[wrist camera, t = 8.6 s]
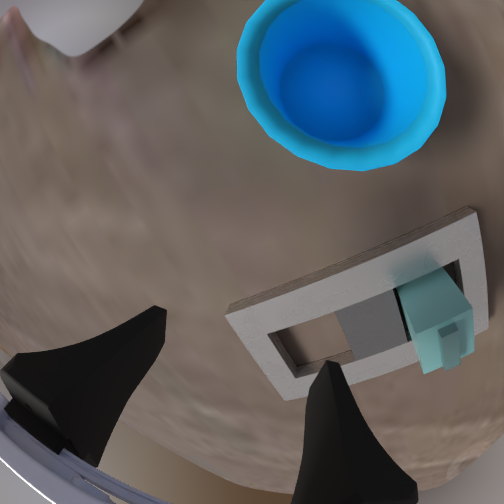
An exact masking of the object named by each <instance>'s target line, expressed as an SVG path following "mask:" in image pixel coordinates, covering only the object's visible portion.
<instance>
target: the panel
mask: <svg viewBox="0 0 504 504" xmlns="http://www.w3.org/2000/svg"><path fill="white" fill-rule="evenodd" d="M451 262H453V263H454V269H455V275H456V281H457V287H458V288H459V289H460V291H461V292H462V293H463V295H464V296H465V297H466V299H467V300H468V302H469V303H470V304H471V306H472V307H473V318H474V336H475V335H477V334H479V333H480V332H482V331H484V330H486V329H488V294H487V281H486V270H485V261H484V253H483V246H482V240H481V234H480V228H479V223H478V218H477V213H476V211H474V210H472V209H471V208H469V207H468V206H466V207H464V208H462V209H460V210H458V211H455V212H453V213H451V214H449V215H447V216H445V217H443V218H440V219H438V220H436V221H434V222H432V223H430V224H427V225H425V226H423V227H421V228H419V229H416V230H414V231H412V232H410V233H407V234H405V235H403V236H401V237H398V238H396V239H394V240H392V241H389V242H387V243H385V244H382V245H380V246H378V247H375V248H373V249H371V250H368V251H366V252H364V253H361V254H359V255H356V256H354V257H352V258H349V259H347V260H344V261H342V262H339V263H337V264H335V265H332V266H330V267H327V268H325V269H322V270H320V271H317V272H315V273H312V274H310V275H307V276H305V277H302V278H300V279H297V280H294V281H292V282H289V283H287V284H284V285H281V286H279V287H276V288H274V289H271V290H268V291H266V292H263V293H260V294H258V295H255V296H252V297H250V298H247V299H244V300H241V301H239V302H236V303H233V304H230V305H229V307H228V309H227V311H226V313H225V315H224V316H225V317H226V319H227V320H228V322H229V323H230V325H231V326H232V328H233V329H234V331H235V332H236V333H237V335H238V336H239V338H240V339H241V341H242V342H243V344H244V345H245V346H246V348H247V349H248V351H249V352H250V354H251V355H252V356H253V358H254V359H255V361H256V362H257V363H258V365H259V366H260V368H261V369H262V370H263V372H264V373H265V375H266V376H267V377H268V379H269V380H270V381H271V383H272V384H273V386H274V387H275V388H276V390H277V391H278V392H279V394H280V395H281V396H282V398H283V399H284V400H285V401H288V400H292V399H297V398H301V397H306V396H308V393H309V388H310V386H311V384H312V383H313V381H314V380H315V378H316V376H317V375H318V373H319V371H320V370H321V368H322V366H323V364H324V363H325V361H326V360H330V361H334V362H338V363H339V364H340V366H341V368H342V371H343V373H344V376H345V378H346V381H347V383H348V385H351V384H355V383H358V382H361V381H365V380H368V379H371V378H374V377H377V376H380V375H383V374H386V373H388V372H391V371H394V370H397V369H400V368H402V367H405V366H407V365H410V364H413V363H415V362H418V361H419V358H418V355H417V352H416V350H415V347H414V344H413V341H412V338H411V336H410V333H409V330H408V329H407V330H404V326H403V322H402V319H401V315H400V312H399V308H398V305H397V301H396V298H395V295H394V292H393V288H395V287H398V286H400V285H402V284H405V283H407V282H409V281H412V280H414V279H416V278H419V277H421V276H423V275H425V274H427V273H430V272H432V271H434V270H436V269H438V268H440V267H443V266H445V265H447V264H449V263H451ZM331 312H335V314H336V316H337V319H338V321H339V323H340V325H341V327H342V330H343V332H344V334H345V336H346V339H347V341H348V343H349V345H350V348H351V351H348V352H344V353H341V354H338V355H335V356H332V357H329V358H325V359H322V360H319V361H315V362H312V363H308V364H305V365H301V366H296V365H295V363H294V361H293V360H292V358H291V357H290V355H289V353H288V352H287V350H286V349H285V347H284V345H283V344H282V342H281V340H280V339H279V337H278V336H277V334H276V332H275V331H278V330H281V329H284V328H287V327H290V326H294V325H297V324H300V323H303V322H306V321H308V320H311V319H314V318H317V317H320V316H323V315H326V314H328V313H331Z"/></svg>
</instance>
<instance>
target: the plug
mask: <svg viewBox="0 0 504 504" xmlns="http://www.w3.org/2000/svg"><path fill="white" fill-rule="evenodd" d="M396 290H397V293H398V297H399V300H400V304H401V307H402V311H403V314H404V318H405V322H406V325H407V327H408V330H409V333H410V336H411V338H412V341H413V344H414V347H415V350H416V352H417V355H418V358H419V361H420V364H421V367H422V371H423V374H426V373H428V372H431V371H433V370H435V369H438V368H440V367H442V366H443V368H444V370H445V371H447V370H449V369H451V368H453V367H455V366H458V365H460V364H461V358H462V357H464V356H466V355H468V354H470V353H472V352H474V318H473V307H472V306H471V304H470V303H469V302H468V300H467V299H466V297H465V296H464V295H463V293H462V292H461V291H460V289H459V288H458V287H457V285H456V284H455V283H454V281H453V280H452V279H451V277H450V276H449V275H448V274H447V272H446V271H445V270H444V268H443V267H440V268H438V269H436V270H434V271H432V272H430V273H427V274H425V275H423V276H421V277H419V278H416V279H414V280H412V281H409V282H407V283H405V284H402V285H400V286H398V287H396Z"/></svg>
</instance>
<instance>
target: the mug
mask: <svg viewBox="0 0 504 504" xmlns="http://www.w3.org/2000/svg"><path fill="white" fill-rule="evenodd" d="M237 80H238V83H239V85H240V88H241V91H242V93H243V96H244V99H245V101H246V104H247V107H248V110H249V111H250V112H251V113H252V115H253V116H254V117H255V118H256V120H257V121H258V122H259V123H260V125H261V126H262V127H263V129H264V130H265V131H266V133H267V134H268V135H269V136H270V137H271V138H273V139H274V140H276V141H277V142H278V143H280V144H281V145H282V146H284V147H285V148H287V149H288V150H289V151H291V152H292V153H293V154H295V155H296V156H298V157H300V158H303V159H306V160H309V161H311V162H314V163H317V164H319V165H322V166H325V167H327V168H330V169H344V170H356V171H367V170H371V169H375V168H379V167H384V166H388V165H393V164H396V163H397V162H399V161H401V160H402V159H404V158H405V157H407V156H409V155H410V154H412V153H413V152H415V151H417V150H418V149H420V148H421V147H422V145H423V144H424V143H425V142H426V140H427V139H428V138H429V136H430V135H431V134H432V132H433V131H434V130H435V128H436V127H437V126H438V124H439V121H440V117H441V114H442V111H443V107H444V104H445V100H446V79H445V67H444V64H443V61H442V59H441V56H440V54H439V51H438V49H437V46H436V44H435V41H434V39H433V37H432V36H431V35H430V33H429V32H428V31H427V29H426V28H425V27H424V26H423V24H422V23H421V22H420V21H419V19H418V18H417V17H416V16H415V14H414V13H413V12H411V11H410V10H409V9H407V8H406V7H405V6H403V5H402V4H401V3H399V2H398V1H397V0H265V1H264V3H263V4H262V5H261V6H260V7H259V8H258V9H257V11H256V12H255V13H254V14H253V15H252V16H251V18H250V19H249V20H248V21H247V23H246V25H245V28H244V31H243V34H242V36H241V39H240V42H239V45H238V48H237Z"/></svg>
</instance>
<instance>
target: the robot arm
mask: <svg viewBox="0 0 504 504" xmlns="http://www.w3.org/2000/svg"><path fill="white" fill-rule="evenodd" d="M166 316H167V310H166V309H163V308H161V307H158V306H155V305H154V306H152V307H151V308H149V309H147V310H145V311H144V312H142V313H140V314H139V315H137V316H135V317H133V318H132V319H130V320H128V321H126V322H125V323H123V324H121V325H119V326H117V327H115V328H113V329H111V330H109V331H107V332H105V333H103V334H101V335H99V336H96V337H94V338H91V339H89V340H86V341H83V342H80V343H77V344H74V345H70V346H66V347H63V348H58V349H53V350H48V351H41V352H31V353H17V354H16V355H15V356H14V357H13V358H12V359H11V360H10V361H9V362H8V363H7V364H6V365H5V366H4V367H3V368H2V369H1V370H0V376H1V379H2V380H3V382H4V384H5V386H6V388H7V389H8V391H9V392H10V394H11V396H12V400H11V401H10V402H9V401H8V400H7V399H6V397H5V396H4V395H3V394H2V393H1V392H0V459H1V460H2V461H3V462H4V463H5V464H6V465H7V466H8V467H9V468H10V469H11V470H12V471H13V472H15V473H16V474H17V475H18V476H19V477H20V478H21V479H23V480H24V481H25V482H26V483H27V484H29V485H30V486H31V487H32V488H33V489H35V490H36V491H37V492H38V493H40V494H41V495H42V496H44V497H45V498H46V499H48V500H49V501H51V502H52V503H53V504H116V503H114V502H113V501H112V500H111V499H110V498H109V496H108V495H107V494H105V493H103V492H102V491H100V490H98V489H97V488H96V487H94V486H93V485H95V486H97V487H98V488H100V489H102V490H104V491H105V492H108V493H110V494H111V495H113V496H115V497H117V498H119V499H121V500H123V501H125V502H127V503H129V504H172V503H169V502H166V501H164V500H161V499H159V498H156V497H154V496H151V495H149V494H147V493H144V492H142V491H140V490H137V489H135V488H133V487H131V486H129V485H127V484H125V483H123V482H121V481H119V480H117V479H115V478H113V477H111V476H109V475H107V474H105V473H103V472H102V471H100V470H98V469H96V467H98V465H99V462H100V460H101V457H102V454H103V452H104V449H105V447H106V445H107V442H108V440H109V438H110V436H111V433H112V431H113V429H114V427H115V425H116V423H117V421H118V419H119V417H120V415H121V413H122V411H123V409H124V407H125V405H126V403H127V401H128V399H129V398H130V396H131V395H132V393H133V392H134V390H135V389H136V387H137V386H138V385H139V383H140V382H141V380H142V379H143V377H144V376H145V375H146V373H147V372H148V370H149V369H150V367H151V366H152V365H153V363H154V362H155V360H156V358H157V356H158V355H159V353H160V351H161V349H162V347H163V345H164V343H165V330H166ZM85 480H86V481H85ZM87 481H88V482H90V483H91V484H93V485H91V484H90V483H88V482H87ZM417 502H418V489H417V483H416V482H415V481H414V480H413V479H412V478H411V477H410V476H409V475H407V474H406V473H405V472H404V471H403V470H402V469H401V468H400V467H399V466H398V465H397V464H396V463H395V462H394V461H393V460H392V458H391V457H390V456H389V455H388V454H387V452H386V451H385V450H384V449H383V447H382V446H381V445H380V443H379V442H378V440H377V439H376V438H375V436H374V435H373V433H372V431H371V430H370V428H369V427H368V425H367V423H366V422H365V420H364V418H363V416H362V414H361V412H360V410H359V408H358V406H357V404H356V402H355V399H354V397H353V395H352V393H351V390H350V388H349V386H348V383H347V381H346V378H345V376H344V373H343V371H342V368H341V366H340V364H339V363H338V362H334V361H330V360H326V361H325V363H324V364H323V366H322V368H321V370H320V371H319V373H318V375H317V376H316V378H315V380H314V381H313V383H312V384H311V386H310V388H309V393H308V398H307V404H306V413H305V430H304V446H303V455H302V461H301V466H300V471H299V475H298V479H297V483H296V487H295V491H294V495H293V498H292V502H291V504H416V503H417Z"/></svg>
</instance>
